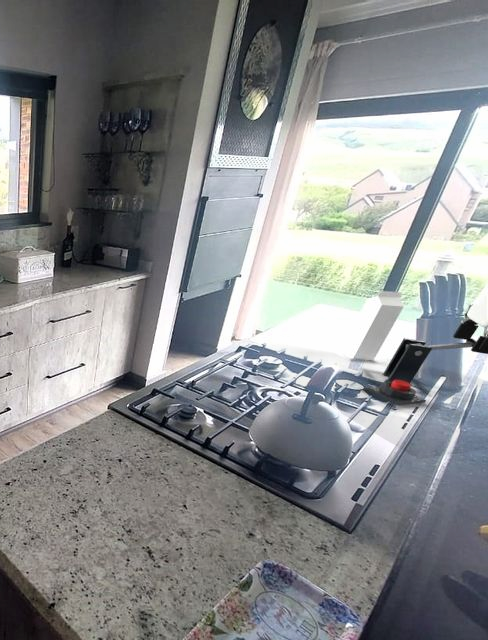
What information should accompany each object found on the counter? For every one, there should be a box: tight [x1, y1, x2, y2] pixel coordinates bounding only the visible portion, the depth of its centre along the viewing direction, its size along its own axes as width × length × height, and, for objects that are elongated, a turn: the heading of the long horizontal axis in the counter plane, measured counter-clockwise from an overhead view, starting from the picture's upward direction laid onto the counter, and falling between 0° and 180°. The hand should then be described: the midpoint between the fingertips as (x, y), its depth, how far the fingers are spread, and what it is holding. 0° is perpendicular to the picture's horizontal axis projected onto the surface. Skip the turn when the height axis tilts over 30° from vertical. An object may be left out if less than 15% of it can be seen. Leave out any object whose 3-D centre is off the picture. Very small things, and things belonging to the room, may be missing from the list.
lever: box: [406, 337, 477, 351], centre depth 106 cm, size 13×5×2 cm, turn 63°
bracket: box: [382, 337, 433, 384], centre depth 111 cm, size 11×9×13 cm
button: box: [391, 380, 412, 392], centre depth 104 cm, size 3×3×2 cm
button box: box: [365, 380, 427, 411], centre depth 105 cm, size 9×8×4 cm
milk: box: [340, 290, 405, 361], centre depth 122 cm, size 6×6×22 cm
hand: (469, 345), depth 103 cm, fingers open, 9 cm apart
